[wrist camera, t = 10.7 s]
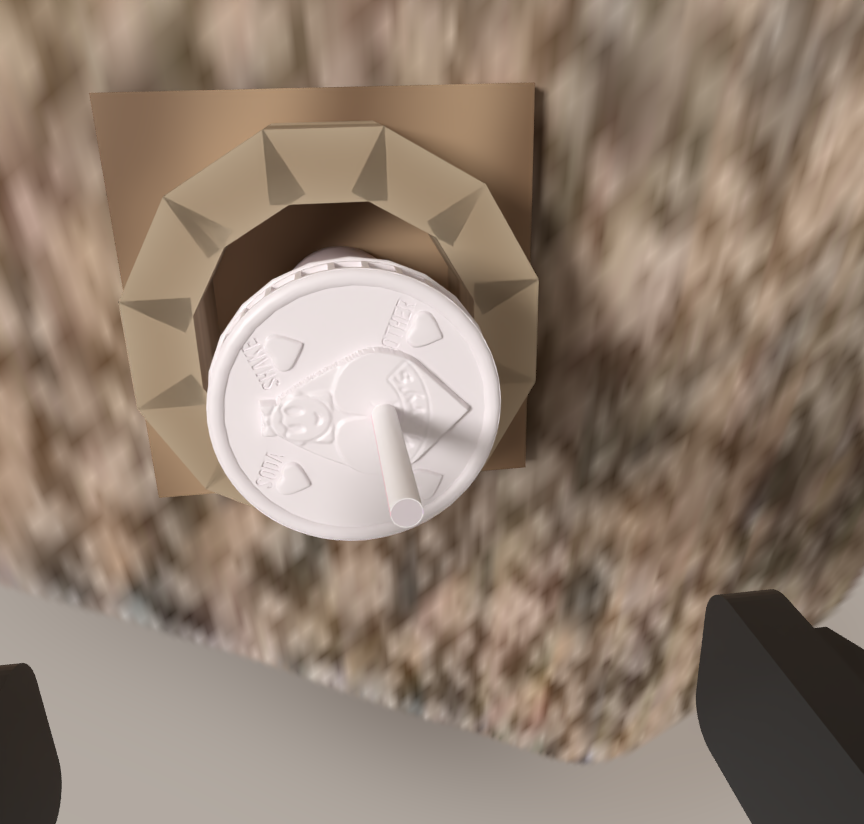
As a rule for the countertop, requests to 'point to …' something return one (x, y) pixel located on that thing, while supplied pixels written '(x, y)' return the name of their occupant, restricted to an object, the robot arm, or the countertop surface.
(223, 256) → the bottle holder
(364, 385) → the smoothie
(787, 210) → the countertop surface
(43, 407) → the countertop surface
